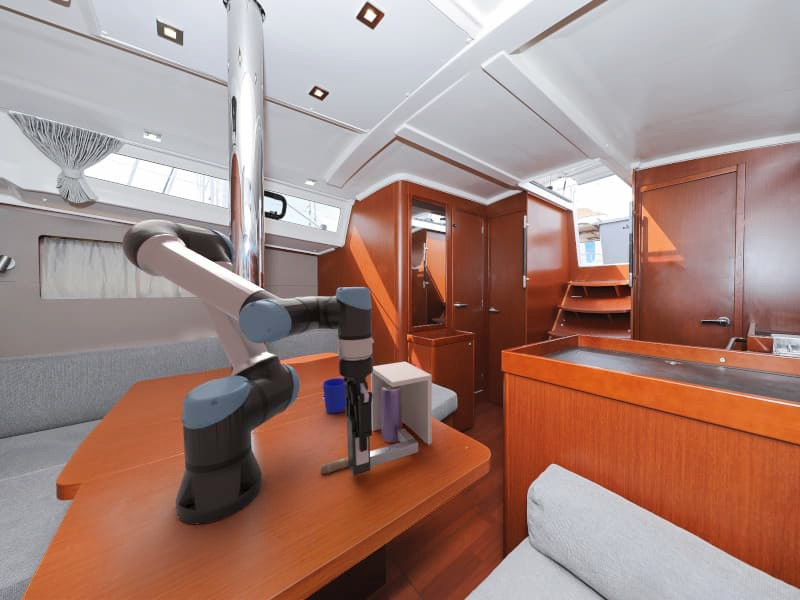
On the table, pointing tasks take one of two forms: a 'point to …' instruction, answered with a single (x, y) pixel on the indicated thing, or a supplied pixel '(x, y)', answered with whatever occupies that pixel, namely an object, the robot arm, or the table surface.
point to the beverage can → (391, 412)
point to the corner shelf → (405, 396)
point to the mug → (334, 395)
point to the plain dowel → (334, 466)
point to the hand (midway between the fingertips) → (358, 456)
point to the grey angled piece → (380, 455)
